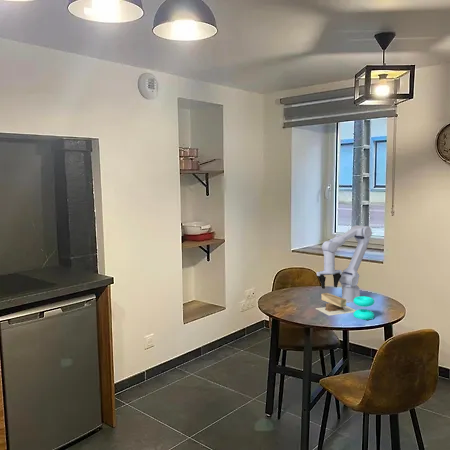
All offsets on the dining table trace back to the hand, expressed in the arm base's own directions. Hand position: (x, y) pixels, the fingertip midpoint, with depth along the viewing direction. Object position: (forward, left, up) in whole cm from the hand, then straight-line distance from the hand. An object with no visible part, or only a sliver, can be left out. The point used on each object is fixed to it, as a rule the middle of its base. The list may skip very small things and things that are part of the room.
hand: (329, 287), depth 254 cm
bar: (+3, +9, -6) cm, 11 cm away
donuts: (-4, +26, -10) cm, 28 cm away
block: (+3, +10, -9) cm, 14 cm away
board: (+2, +11, -10) cm, 15 cm away
